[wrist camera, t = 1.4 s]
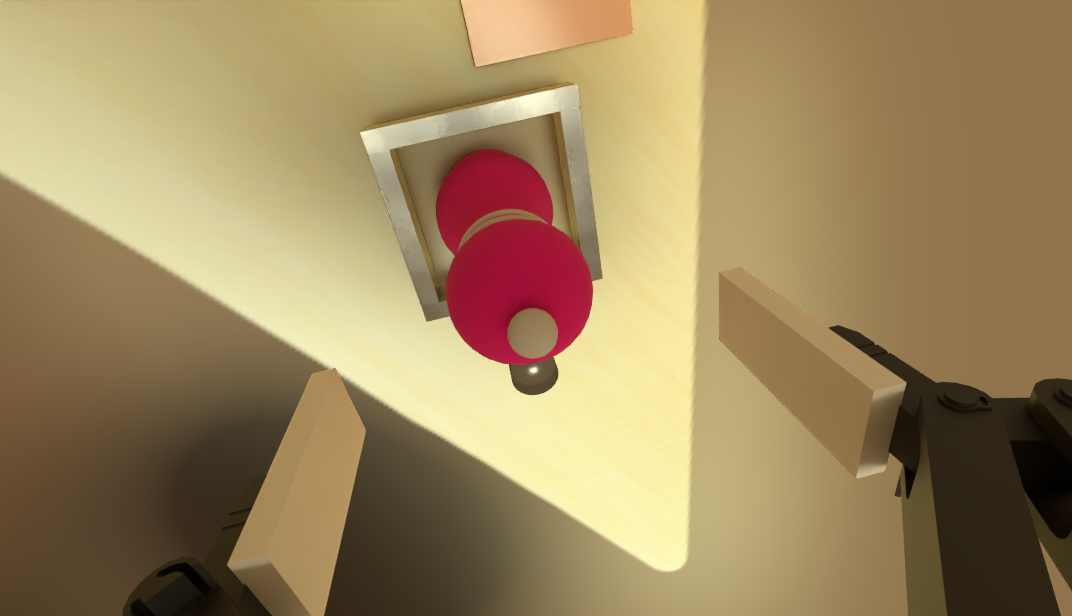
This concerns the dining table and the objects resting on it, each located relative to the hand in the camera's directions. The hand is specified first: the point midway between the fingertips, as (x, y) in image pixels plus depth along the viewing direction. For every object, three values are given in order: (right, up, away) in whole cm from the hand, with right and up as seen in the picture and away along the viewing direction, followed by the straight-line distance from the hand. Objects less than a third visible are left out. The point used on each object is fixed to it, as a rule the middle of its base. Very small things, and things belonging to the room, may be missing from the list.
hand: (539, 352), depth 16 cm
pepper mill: (-3, +10, +17) cm, 20 cm away
